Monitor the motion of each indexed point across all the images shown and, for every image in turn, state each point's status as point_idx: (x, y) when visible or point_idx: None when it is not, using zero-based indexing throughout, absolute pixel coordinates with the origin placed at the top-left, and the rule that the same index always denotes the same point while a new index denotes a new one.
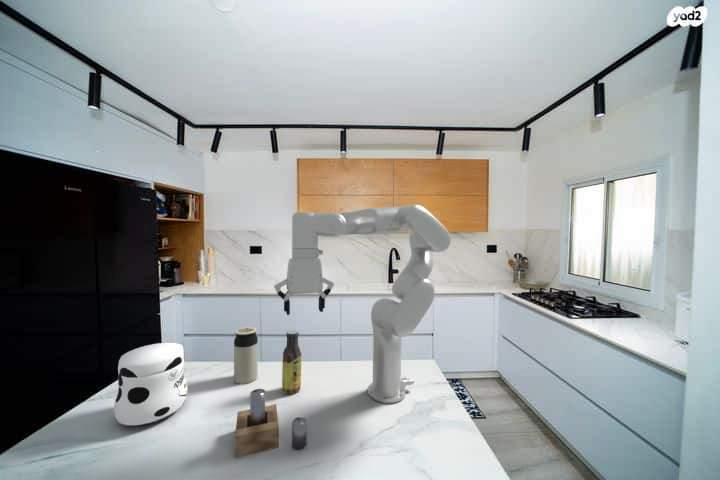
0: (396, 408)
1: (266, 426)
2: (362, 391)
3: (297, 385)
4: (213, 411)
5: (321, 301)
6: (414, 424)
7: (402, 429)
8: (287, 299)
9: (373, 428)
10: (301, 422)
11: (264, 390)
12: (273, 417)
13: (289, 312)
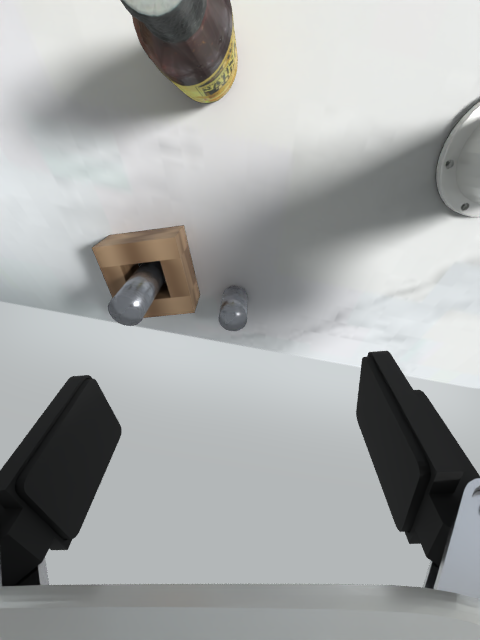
0: (467, 235)
1: (170, 306)
2: (431, 130)
3: (225, 92)
4: (13, 148)
5: (397, 510)
6: (462, 292)
7: (429, 299)
8: (39, 567)
9: (378, 286)
10: (236, 322)
11: (140, 305)
12: (178, 284)
13: (115, 444)
